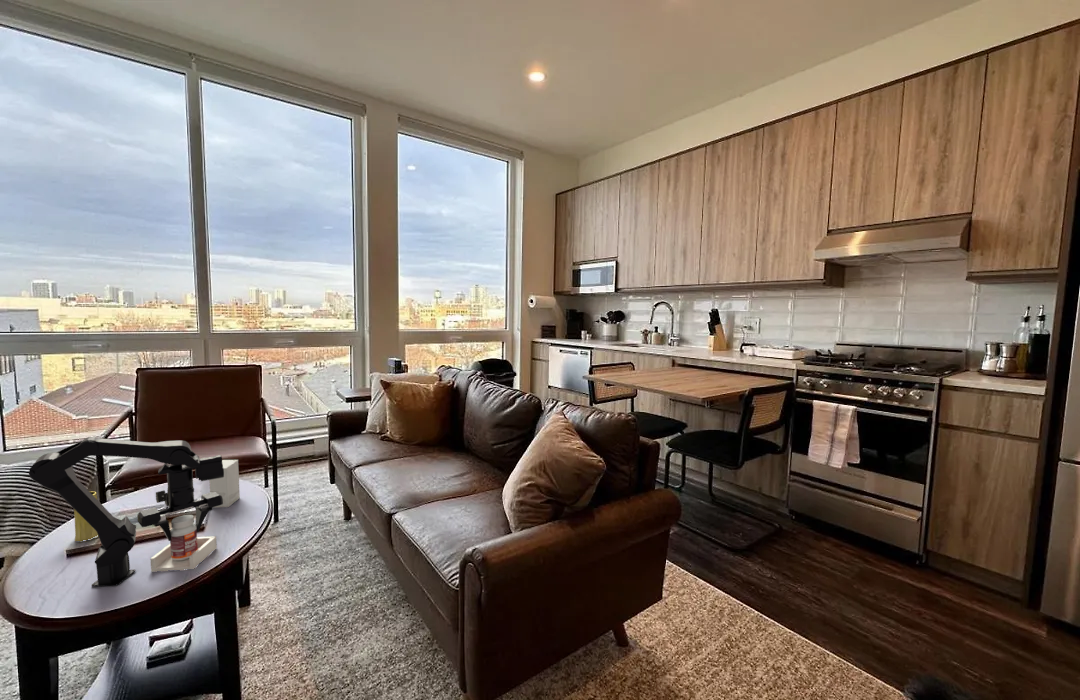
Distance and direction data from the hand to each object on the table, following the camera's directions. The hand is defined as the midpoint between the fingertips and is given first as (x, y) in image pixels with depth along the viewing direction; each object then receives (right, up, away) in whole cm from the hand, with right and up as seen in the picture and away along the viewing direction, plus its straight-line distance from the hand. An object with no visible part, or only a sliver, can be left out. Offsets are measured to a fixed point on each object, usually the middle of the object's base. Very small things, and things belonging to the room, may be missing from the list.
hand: (183, 535), depth 129 cm
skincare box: (-14, -4, +37) cm, 40 cm away
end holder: (0, -7, +1) cm, 8 cm away
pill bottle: (0, -6, +1) cm, 6 cm away
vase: (-40, -6, +12) cm, 42 cm away
